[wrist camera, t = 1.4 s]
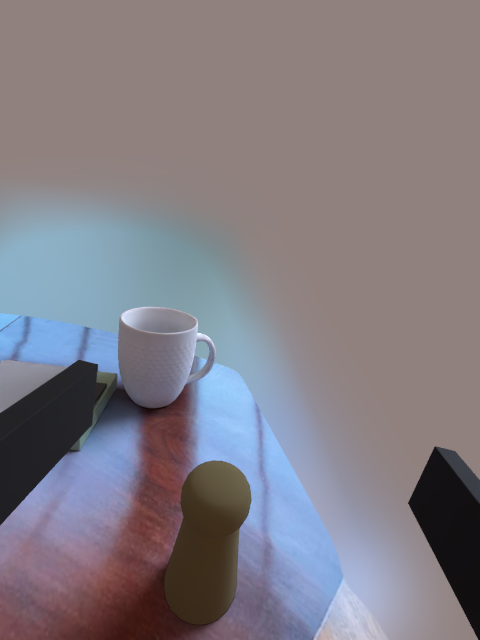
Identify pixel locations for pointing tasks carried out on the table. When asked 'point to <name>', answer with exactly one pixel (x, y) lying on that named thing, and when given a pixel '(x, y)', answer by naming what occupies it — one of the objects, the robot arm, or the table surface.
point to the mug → (159, 354)
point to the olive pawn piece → (207, 543)
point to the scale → (23, 377)
